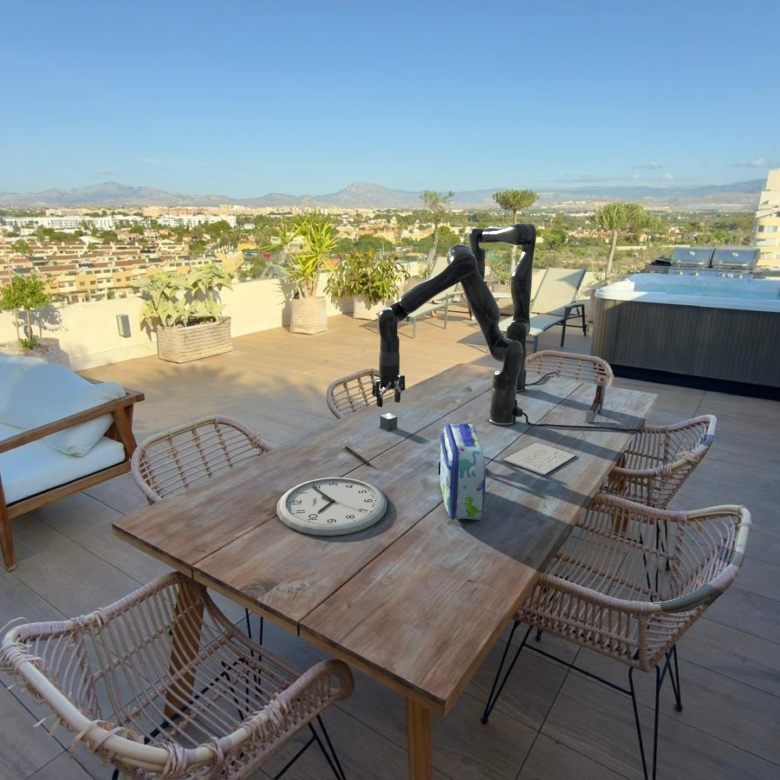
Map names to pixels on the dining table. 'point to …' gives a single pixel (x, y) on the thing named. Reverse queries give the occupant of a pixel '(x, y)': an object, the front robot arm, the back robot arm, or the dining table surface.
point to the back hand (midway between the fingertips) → (475, 302)
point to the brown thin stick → (357, 455)
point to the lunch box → (462, 472)
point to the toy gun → (597, 401)
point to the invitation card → (539, 458)
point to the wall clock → (331, 506)
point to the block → (388, 422)
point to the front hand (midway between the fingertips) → (388, 404)
